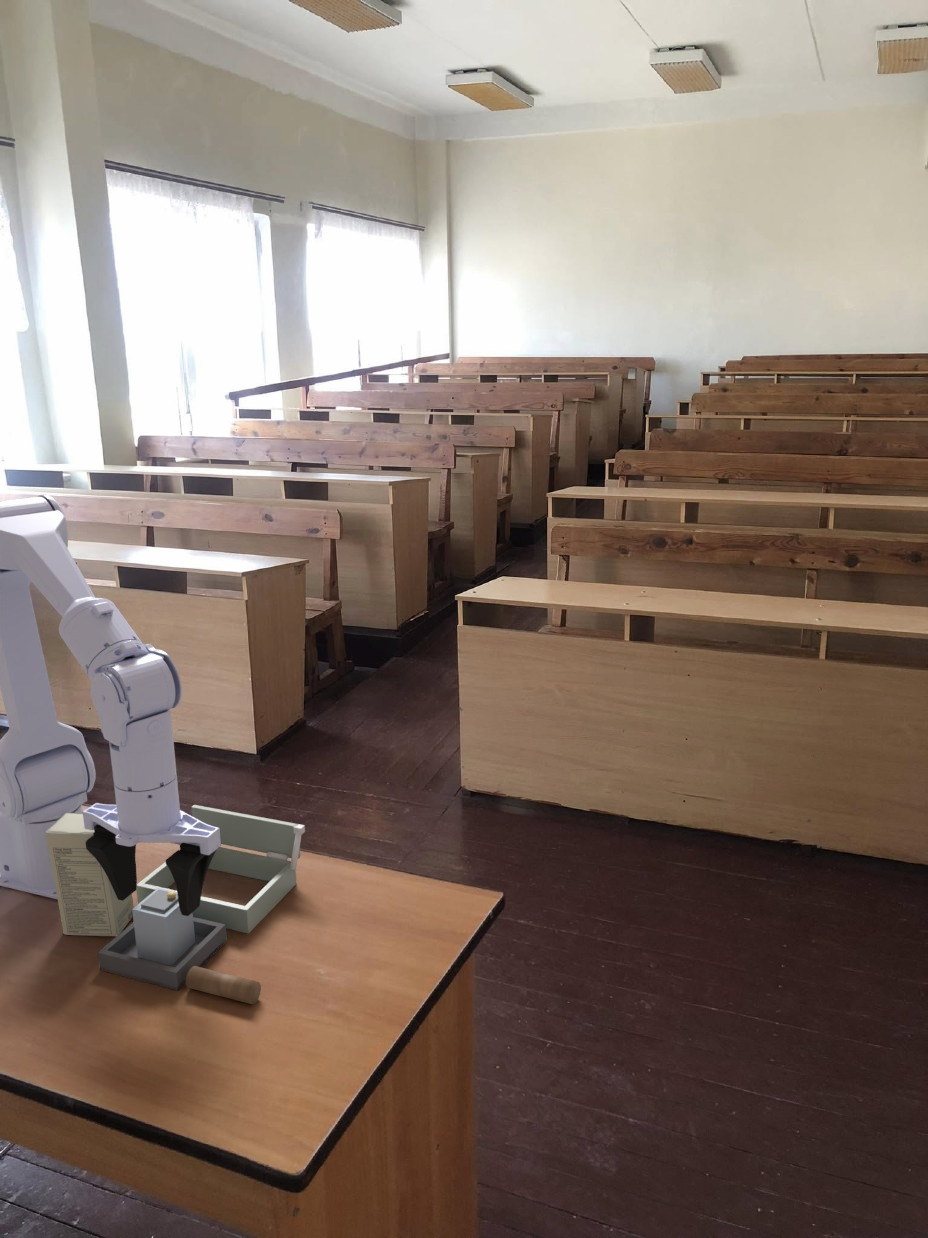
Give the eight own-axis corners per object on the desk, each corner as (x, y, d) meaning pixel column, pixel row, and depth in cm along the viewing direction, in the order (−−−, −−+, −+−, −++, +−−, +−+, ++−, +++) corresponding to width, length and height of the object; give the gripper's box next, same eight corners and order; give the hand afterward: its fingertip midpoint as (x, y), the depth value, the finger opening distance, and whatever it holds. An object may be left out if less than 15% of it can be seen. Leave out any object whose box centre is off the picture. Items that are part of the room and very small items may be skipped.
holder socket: (100, 970, 92) (97, 952, 92) (153, 923, 100) (151, 907, 99) (178, 990, 89) (176, 973, 89) (226, 941, 97) (225, 924, 96)
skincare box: (136, 914, 101) (124, 813, 98) (118, 938, 97) (105, 833, 94) (79, 911, 102) (65, 810, 99) (59, 935, 98) (44, 830, 95)
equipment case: (138, 907, 103) (131, 851, 101) (199, 857, 113) (194, 804, 111) (255, 935, 98) (250, 876, 96) (307, 879, 108) (304, 825, 106)
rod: (186, 992, 89) (184, 974, 89) (199, 979, 91) (197, 961, 90) (250, 1009, 87) (248, 991, 86) (261, 995, 89) (260, 977, 88)
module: (137, 957, 94) (131, 903, 92) (162, 934, 97) (157, 882, 96) (171, 965, 92) (165, 911, 91) (195, 942, 96) (190, 889, 94)
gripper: (53, 784, 88) (71, 909, 92) (183, 809, 83) (196, 941, 87) (105, 754, 94) (119, 873, 98) (228, 776, 89) (238, 900, 93)
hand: (158, 902), depth 93 cm, fingers open, 7 cm apart
